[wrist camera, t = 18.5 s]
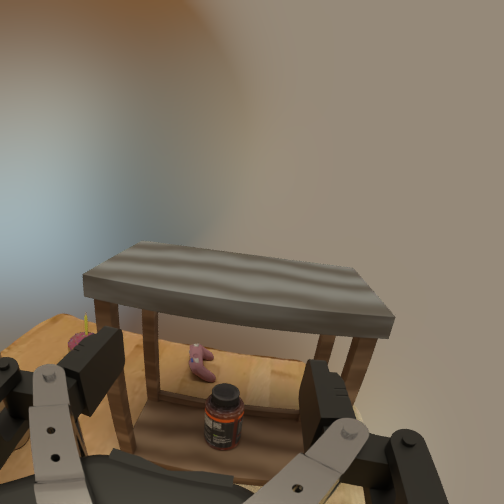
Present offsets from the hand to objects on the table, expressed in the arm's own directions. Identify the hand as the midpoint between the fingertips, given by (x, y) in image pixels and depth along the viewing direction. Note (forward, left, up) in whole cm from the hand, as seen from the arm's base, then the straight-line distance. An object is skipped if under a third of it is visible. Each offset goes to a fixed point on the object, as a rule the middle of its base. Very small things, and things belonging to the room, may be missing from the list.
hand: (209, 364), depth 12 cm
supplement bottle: (-12, +20, -33) cm, 41 cm away
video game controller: (-29, +35, -35) cm, 58 cm away
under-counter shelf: (-12, +20, -35) cm, 42 cm away
